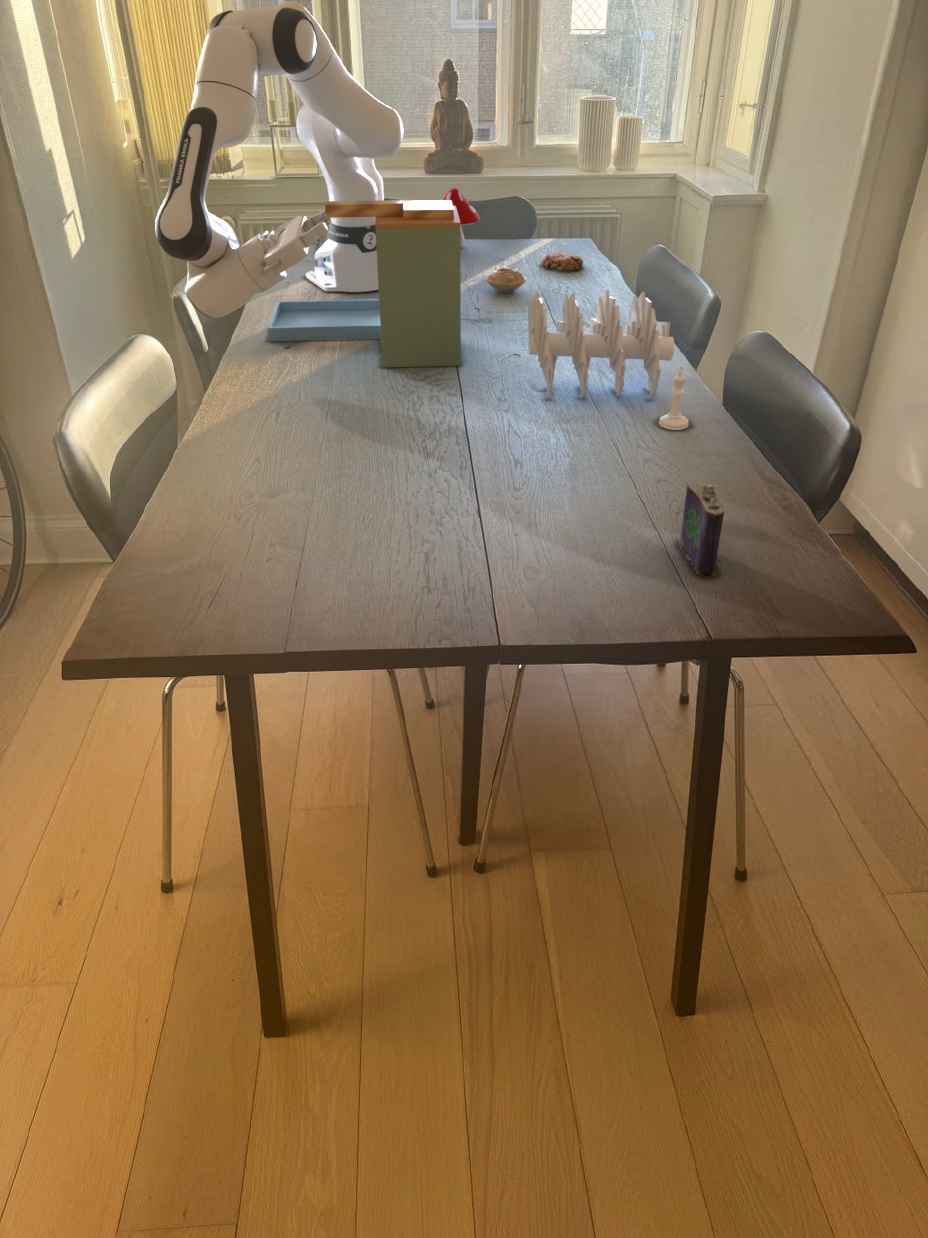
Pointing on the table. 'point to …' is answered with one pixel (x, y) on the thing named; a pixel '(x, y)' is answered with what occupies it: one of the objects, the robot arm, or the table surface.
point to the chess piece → (675, 407)
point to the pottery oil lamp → (505, 279)
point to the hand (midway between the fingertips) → (327, 219)
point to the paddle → (391, 209)
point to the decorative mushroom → (462, 210)
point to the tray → (325, 320)
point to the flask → (701, 527)
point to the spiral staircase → (600, 339)
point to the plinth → (419, 291)
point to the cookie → (562, 261)
